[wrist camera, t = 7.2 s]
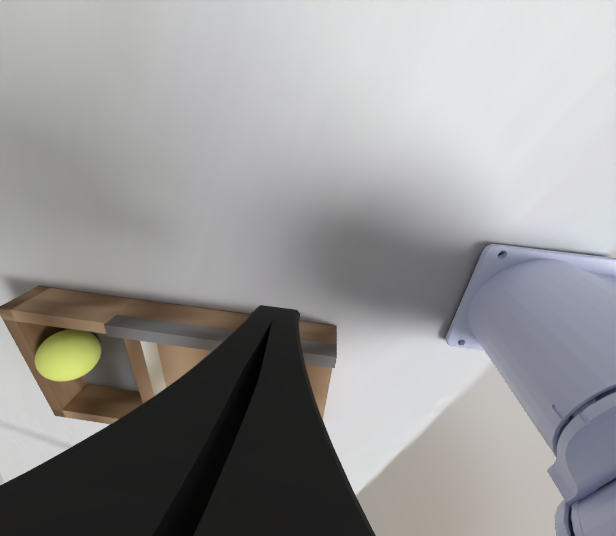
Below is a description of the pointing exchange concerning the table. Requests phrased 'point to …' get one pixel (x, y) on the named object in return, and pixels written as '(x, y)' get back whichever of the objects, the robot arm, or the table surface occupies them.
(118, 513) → the robot arm
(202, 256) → the table surface
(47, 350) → the ball
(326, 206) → the table surface
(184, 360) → the wooden tray
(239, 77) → the table surface
